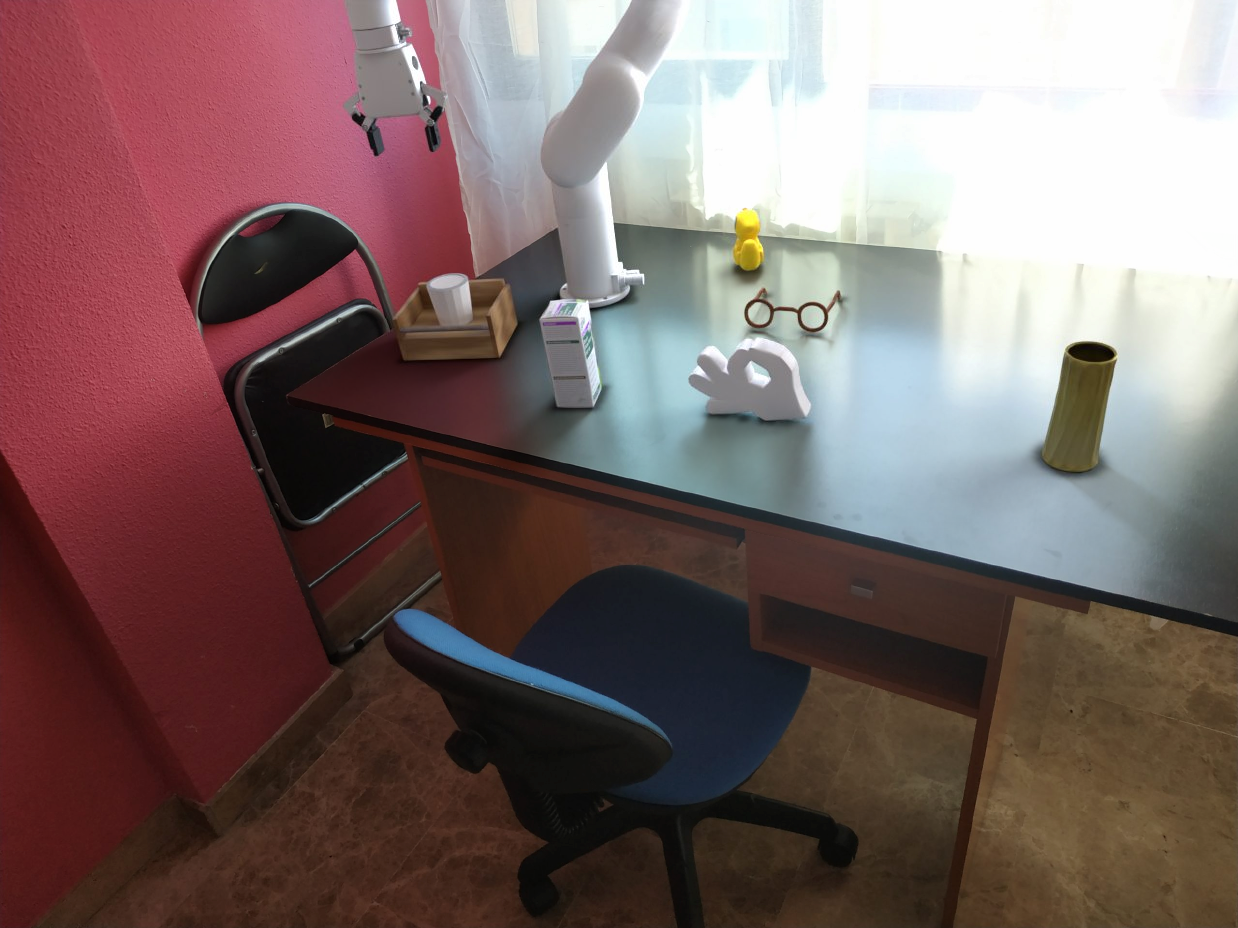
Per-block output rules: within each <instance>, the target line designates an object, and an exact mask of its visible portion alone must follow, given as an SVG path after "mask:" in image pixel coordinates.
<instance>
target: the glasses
mask: <svg viewBox="0 0 1238 928" xmlns="http://www.w3.org/2000/svg"><path fill="white" fill-rule="evenodd" d="M762 295H764V296H767V289H766V287H764V286H762V288H761V289H760V290H759V291H758V292H757V294H756V295H755V297H754V298H753V299H751V300H750V301H748V302H747V303H746V304H745V307H744V311H743V316H744V319H745V322H746V323H747V324H748V325H749V326H750V327H752V328H755V329H765V328H767V327H768V326H770V325H771V324H772V322H773V320H774V316H775V312H779V311H780V312H792V313H796V315H797V316H796V317H797V322H798V325H799V327H800V328H801V329H802V330H804V331H806V332H809V333H817V332H818V333H819V332H821V331H822V330H824V329H825V327H826V326H827V325H828V321H829V313H830V312H831V310H832V309H833V307H835V304H836V302H837V300H838V301H839V300H841V298H842V295H841V290H840V289H839V290H838V289H837V290H836V292H835V293H834V296H833V298H832V300H831V301H830V303H829V304H828V306H827V307H826V306H825V305H824V304H822V303H820V302H819V301H807V302H804V303H803V304H802V305H800V306H799V307H798V308H795V307H794V306H777V307H774V305H773V304H772V303H771V302H770V301H768V300H767V299H765V298H761V297H762ZM756 303H761V304H764V305H765V306H767V308H768V309H769V318H768V320H767V321H766V322H765V323H762V324H761V323H755V322H753V321H752V320H751V318H750V317H749V310H750V308H752V307H753V306H754V305H755V304H756ZM807 307H808V308H809V307H817V308H819V309H820V310H821V311H822V313H823V317H824V318H823V322H822V324H820V326H818V327H809V326H806V325H805V323H804V322H803V320H802V319H803V318H802V313H803V310H804V309H805V308H807Z"/></svg>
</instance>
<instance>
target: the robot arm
mask: <svg viewBox="0 0 1238 928" xmlns="http://www.w3.org/2000/svg"><path fill="white" fill-rule="evenodd" d="M343 2H344V6H345V9H346V14H347V18H348V21H349V25H350V29H351V33H352V38H353V40H354V41H353V42H354V45H355V48H356V50H354V52H353V62H354V73H355V80H356V86H357V92H355V93H354V94H353V95H352V96H350V97H349V98H348V99H347V100H345V101H344V102H343V103H342V107H343V109H344V110H345V111H346V113H347V114H348V115H349V116H350V117H351V120H352V121H353V122H354V123H355V124H357V125H358V126H359V127H360V128H361V130H362V131H363V132H365V134H366V137H367V141H368V145H369V148H370V150H372V153H373V156H374V157H379V156H380V155H381V154H383V153H384V152H385V151H386V148H385V145H384V140H383V137H382V133H381V129H380V127H379V126H378V125H376V123H377V120H378V119H386V118H387V119H388V118H399V117H411V116H417V117H419V118H420V119H421V121H422V122H424V123H425V125H426V126H425V127H424V133H425V136H426V141H427V145H428V149H429V152H431V153H435V152H436V151H437V150H438V149H439V148H440V147H441V146H440V145H441V144H442V139H441V134H440V130H439V125H438V122H439V121H440V118H441V117H442V115H443V113H444V112H445V107H446V105H447V100H448V97H449V96H448V93H447V92H445V91H443V90H441V89H438V88H436V87H434V86H432V85H430V84H427V82H426V79H425V74H424V72H423V69H422V66H421V62H420V61H419V57H418V55H417V53H416V50H415V48H414V46H413V44H412V42H407V38H409V37H412V36H413V30H412V28H411V26H406V25H405V26H404V23H403V21H401V15H400V11H399V7H398V2H397V0H343ZM689 7H690V0H631V1H630V3H629V6H628V7H627V9H626V11H625V13H623V15H622V17H621V18H620V20H619V22H618V23H617V25H616V27H615V29H614V30H613V31H612V33H611V35H610V36H609V38H608V39H607V41H606V42H605V43H604V45H603V46H602V48H601V49H600V51H599V52H598V54H597V55H596V56H595V57H594V58H593V60H592V61H591V62H590V63H589V64H588V66H587V68H586V69H585V71H584V75H583V76H582V81H581V84H580V85H579V87H578V89H577V91H576V92H575V94H574V95H573V97H572V98H571V100H570V102H569V103H568V105H567V106H566V108H564V109H561V110H560V111H558V112H556V113H555V114H554V115H553V116H552V117H551V119H550V120H549V122H548V123H547V125H546V128H545V130H544V135H543V137H542V142H541V147H540V163H541V167H542V170H543V172H544V173H545V175H546V177H547V178H548V179H549V180H550V185H551V191H552V198H553V205H554V211H555V218H556V219H555V220H556V224H557V225H556V226H557V232H558V238H559V244H560V250H561V256H562V263H563V268H564V274H565V280H566V283H564V284H563V285H562V286H561V288H560V289H559V298H560V300H565V299H582V300H587V301H588V304H589V309H593V308H601V307H606V306H609V305H612V304H615V303H617V302H620V301H621V300H623V299H625V297H626V296H627V295H628V294H629V293H630V290H631V286H645V274H644V273H640V270H639V269H631V270H627V269H626V268H624V267H623V266H624V265H623V261H619V258H618V250H617V243H616V236H615V228H614V227H615V226H614V219H613V210H612V200H611V193H610V184H609V175H608V165H607V162H608V161H609V160H610V158H611V157H612V155H613V154H614V152H615V151H616V150H617V148H618V147H619V146H620V144H621V143H622V141H623V140H624V138H625V137H626V136H627V134H628V133H629V131H630V130H631V129H632V127H633V125H635V122H636V120H637V119H638V117H639V115H640V113H641V111H642V109H643V104H644V99H645V98H644V97H645V92H644V91H645V88H646V87H647V85H648V83H649V81H650V80H651V79H652V77H653V75H654V74H655V72H656V71H657V69H659V67H660V65H661V63H662V62H663V60H664V59H665V58H666V56H667V54H668V52H669V51H670V49H671V48H672V46H673V45H674V43H675V41H676V39H677V38H678V36H679V35H680V32H681V31H682V28H683V26H684V23H685V20H686V17H687V14H688V11H689ZM431 99H433V100H435V106H434V108H433V109H432V108H431V107H429V106H430V105H431ZM358 103H360V105H361V108H362V111H363V113H362V112H361V111H359V109H358V108H357V104H358Z"/></svg>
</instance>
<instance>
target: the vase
mask: <svg viewBox="0 0 1238 928" xmlns="http://www.w3.org/2000/svg"><path fill="white" fill-rule="evenodd" d="M1117 361H1118V351H1117V350H1116V348H1114V347H1113V346H1112V345H1109V344H1107V343H1104V342H1100V341H1094V340H1083V341H1075V342H1072V343H1070V344H1069V345H1067V346H1066V347H1065V349H1064V353H1063V356H1062V361H1061V362H1062V363H1061V368H1060V373H1059V374H1060V375H1059V379H1058V386H1057V390H1056V393H1055V398H1054V404H1053V407H1052V412H1051V416H1050V418H1049V419H1050V420H1049V423H1048V427H1047V431H1046V435H1045V439H1044V444H1043V447H1042V448H1041V457H1042V459H1043V461H1044V462H1045V463H1046V464H1047V465H1049V466H1050V467H1051V468H1052V467H1053V468H1054V469H1057V470H1059V471H1064V472H1068V473H1070V472H1071V473H1081V472H1087V471H1090V470H1092V469H1094V468H1095V467H1096V466H1097V465H1098V463H1099V455H1100V454H1099V453H1100V448H1101V441H1102V436H1103V432H1104V426H1105V425H1104V424H1105V419H1106V412H1107V408H1108V402H1109V397H1110V391H1111V386H1112V384H1113V379H1114V373H1115V368H1116V365H1117Z"/></svg>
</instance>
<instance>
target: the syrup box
mask: <svg viewBox="0 0 1238 928" xmlns="http://www.w3.org/2000/svg"><path fill="white" fill-rule="evenodd" d="M539 325H540V330H541V335H542V341H543V346H544V350H545V356H546V360H547V365H548V369H549V370H548V371H549V375H550V380H551V385H552V389H553V395H554V400H555V405H556V407H557V408H566V409H569V408H570V409H571V408H572V409H577V408H578V409H579V408H581V409H582V408H584V409H585V408H586V409H588V408H591V409H592V408H594V407H595V405H596V402H597V401H598V398H599V396H600V393H601V391H602V388H603V384H602V376H601V371H600V365H599V359H598V353H597V347H596V342H595V334H594V329H593V323H592V318H591V310H590V308H589V304H588V301H587V300H582V299H565V300H561V299H557V300H550V301H549V303H548V305H547V307H546V308H545V310H544V311H543V313H542V315H541V316H540V318H539Z"/></svg>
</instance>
